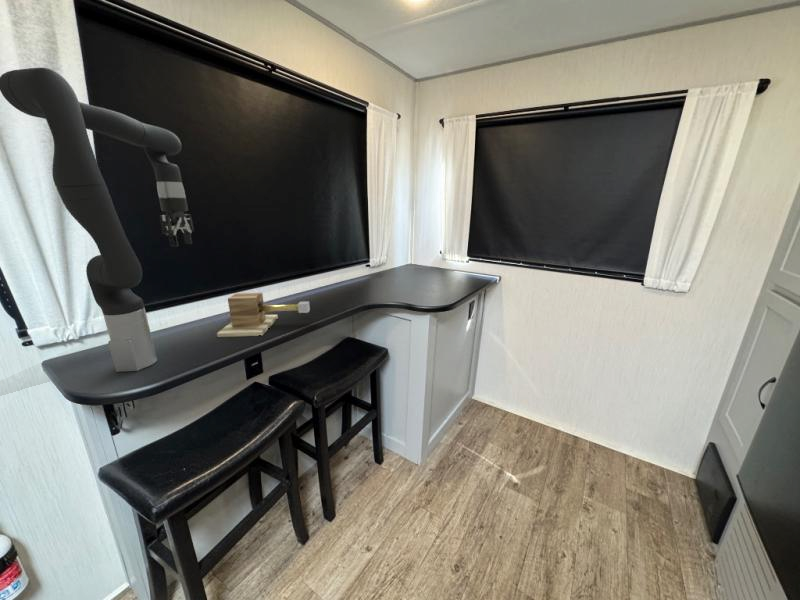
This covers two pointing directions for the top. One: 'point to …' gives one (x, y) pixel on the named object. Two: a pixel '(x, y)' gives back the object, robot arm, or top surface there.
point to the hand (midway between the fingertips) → (181, 245)
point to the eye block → (247, 316)
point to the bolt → (287, 307)
